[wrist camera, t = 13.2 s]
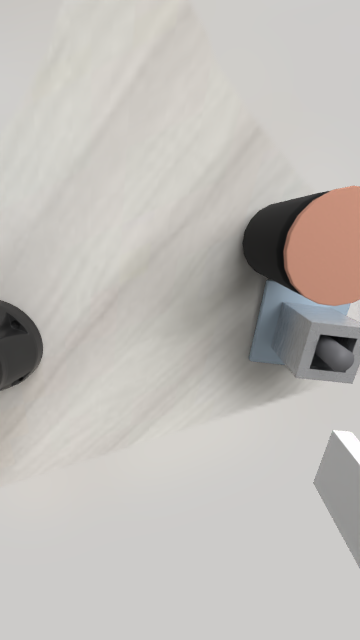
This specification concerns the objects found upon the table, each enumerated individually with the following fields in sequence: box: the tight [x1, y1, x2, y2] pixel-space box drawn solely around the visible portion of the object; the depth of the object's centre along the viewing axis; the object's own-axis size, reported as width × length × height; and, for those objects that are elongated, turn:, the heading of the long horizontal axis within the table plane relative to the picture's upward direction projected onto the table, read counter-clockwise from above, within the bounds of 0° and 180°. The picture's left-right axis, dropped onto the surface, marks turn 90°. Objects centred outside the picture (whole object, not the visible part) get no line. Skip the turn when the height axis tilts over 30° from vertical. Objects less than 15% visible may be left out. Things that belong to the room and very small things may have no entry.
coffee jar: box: [243, 186, 360, 306], centre depth 33 cm, size 11×11×18 cm
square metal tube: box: [271, 302, 360, 384], centre depth 41 cm, size 8×8×10 cm
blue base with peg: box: [249, 280, 354, 372], centre depth 40 cm, size 14×14×13 cm
